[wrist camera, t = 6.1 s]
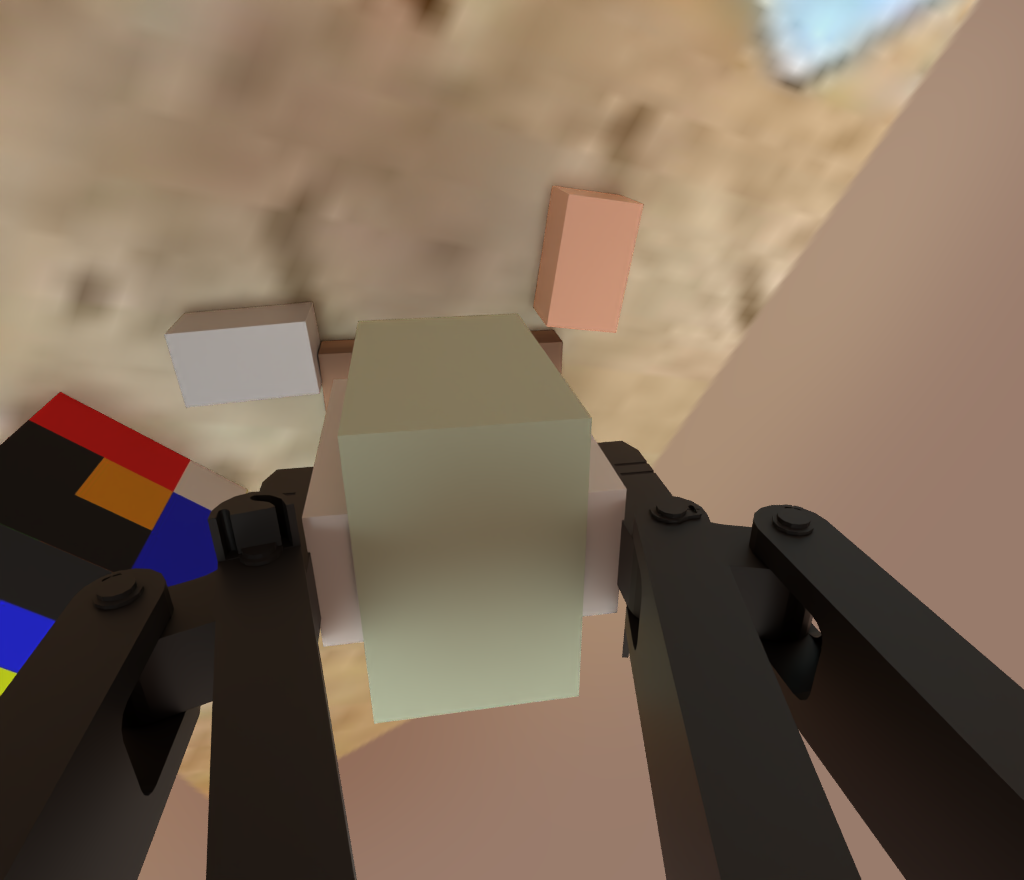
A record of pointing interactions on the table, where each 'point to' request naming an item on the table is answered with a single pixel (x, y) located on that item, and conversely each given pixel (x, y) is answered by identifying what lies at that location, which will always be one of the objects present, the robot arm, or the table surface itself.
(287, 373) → the grey brick
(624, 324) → the table surface
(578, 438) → the sage brick
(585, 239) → the terracotta brick
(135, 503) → the puzzle toy
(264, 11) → the table surface
